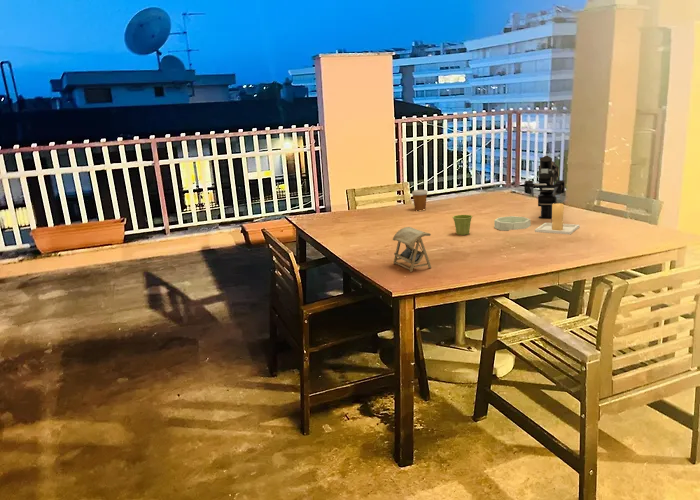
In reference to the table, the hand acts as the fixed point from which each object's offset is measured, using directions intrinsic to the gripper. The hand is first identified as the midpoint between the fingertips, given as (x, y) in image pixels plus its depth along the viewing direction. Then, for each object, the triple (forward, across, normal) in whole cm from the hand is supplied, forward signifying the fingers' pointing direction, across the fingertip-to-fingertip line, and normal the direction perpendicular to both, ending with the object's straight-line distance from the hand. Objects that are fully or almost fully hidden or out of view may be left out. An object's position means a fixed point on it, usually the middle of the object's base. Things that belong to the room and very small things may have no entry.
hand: (542, 195), depth 260 cm
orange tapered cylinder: (+12, +7, +12) cm, 18 cm away
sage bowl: (+7, -14, +14) cm, 21 cm away
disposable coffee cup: (-33, -74, +30) cm, 87 cm away
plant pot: (+23, -35, +8) cm, 43 cm away
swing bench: (+76, -42, -13) cm, 88 cm away
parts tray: (+12, +7, +12) cm, 19 cm away
